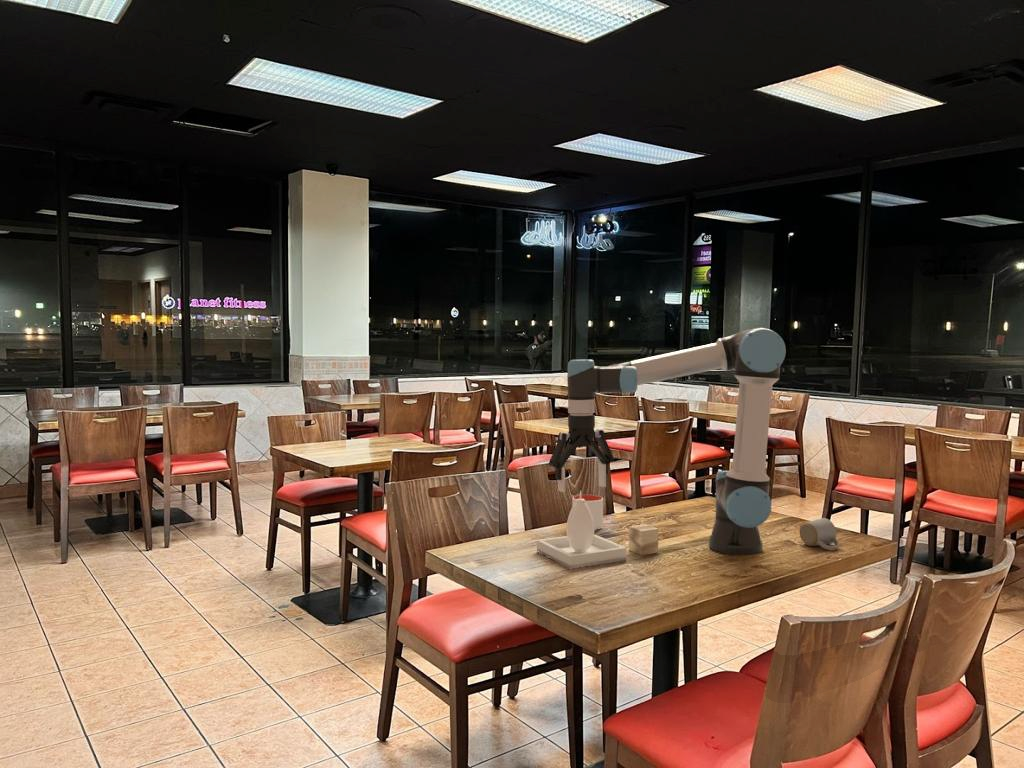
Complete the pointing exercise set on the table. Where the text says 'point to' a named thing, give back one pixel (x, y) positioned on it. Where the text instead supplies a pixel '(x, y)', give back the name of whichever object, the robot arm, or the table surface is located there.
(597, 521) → the cup
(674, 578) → the table surface
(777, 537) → the table surface
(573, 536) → the sauce bottle
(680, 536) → the table surface
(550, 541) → the tray
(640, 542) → the birch block
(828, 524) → the ceramic mug
